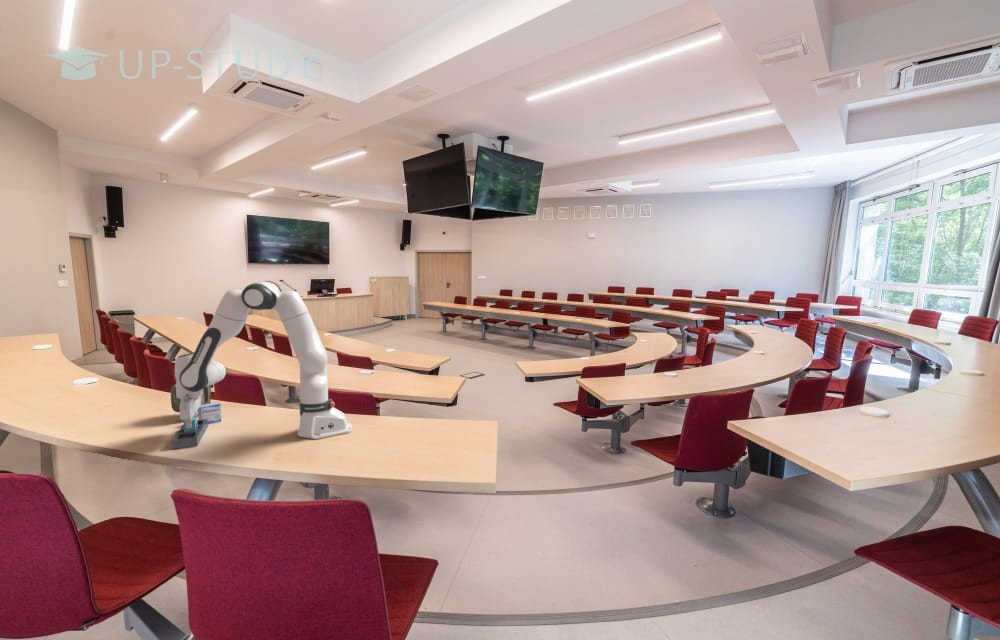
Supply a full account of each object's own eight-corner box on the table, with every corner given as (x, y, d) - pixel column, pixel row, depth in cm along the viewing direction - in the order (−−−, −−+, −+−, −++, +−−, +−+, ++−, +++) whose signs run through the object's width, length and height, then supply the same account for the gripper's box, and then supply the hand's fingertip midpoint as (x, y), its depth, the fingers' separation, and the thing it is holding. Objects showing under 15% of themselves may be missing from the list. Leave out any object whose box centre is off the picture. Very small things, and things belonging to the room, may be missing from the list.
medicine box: (201, 426, 188) (200, 407, 187) (198, 423, 190) (197, 405, 190) (221, 421, 194) (220, 403, 193) (218, 419, 197) (217, 401, 196)
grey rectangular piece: (207, 426, 187) (207, 419, 187) (197, 446, 166) (196, 437, 165) (186, 429, 183) (185, 421, 183) (172, 449, 162) (171, 440, 162)
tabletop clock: (189, 422, 192) (186, 369, 189) (170, 422, 192) (167, 368, 189) (211, 412, 206) (209, 363, 204) (193, 412, 206) (191, 362, 204)
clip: (197, 435, 177) (197, 416, 176) (196, 438, 174) (195, 419, 173) (186, 436, 175) (185, 418, 175) (184, 439, 172) (183, 421, 171)
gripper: (193, 397, 165) (195, 431, 166) (203, 385, 183) (205, 415, 185) (173, 399, 162) (176, 433, 164) (185, 386, 180) (187, 417, 182)
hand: (191, 424), depth 174 cm, fingers open, 8 cm apart
